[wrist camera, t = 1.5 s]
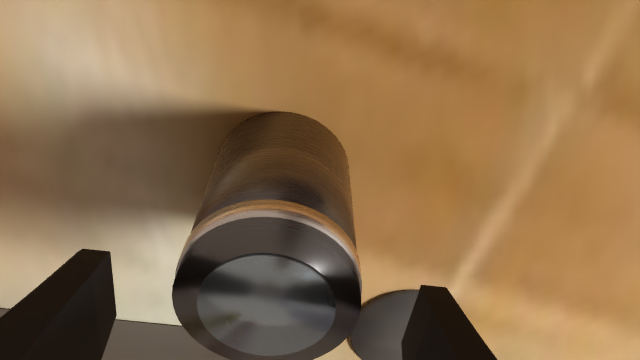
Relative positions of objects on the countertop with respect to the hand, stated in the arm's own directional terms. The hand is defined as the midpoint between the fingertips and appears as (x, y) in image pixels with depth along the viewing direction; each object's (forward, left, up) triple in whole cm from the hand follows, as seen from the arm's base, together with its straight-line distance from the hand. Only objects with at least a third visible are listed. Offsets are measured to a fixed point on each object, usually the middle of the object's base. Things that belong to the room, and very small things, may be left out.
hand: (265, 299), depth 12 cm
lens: (0, 0, -6) cm, 6 cm away
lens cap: (-6, +7, -6) cm, 11 cm away
